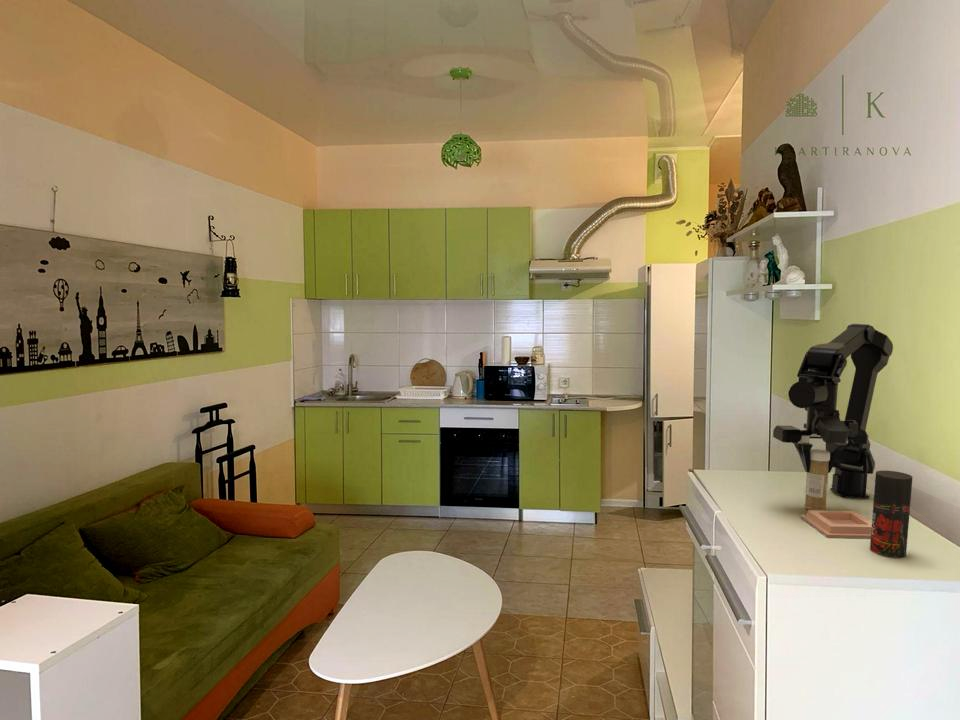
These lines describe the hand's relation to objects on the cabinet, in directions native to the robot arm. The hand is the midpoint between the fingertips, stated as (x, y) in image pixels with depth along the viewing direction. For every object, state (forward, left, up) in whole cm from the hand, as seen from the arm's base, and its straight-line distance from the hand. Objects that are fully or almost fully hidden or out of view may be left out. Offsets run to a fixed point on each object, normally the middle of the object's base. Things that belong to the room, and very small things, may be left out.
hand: (817, 472), depth 154 cm
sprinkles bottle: (0, 0, -9) cm, 9 cm away
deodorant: (-2, +25, -9) cm, 27 cm away
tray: (0, +12, -8) cm, 15 cm away
